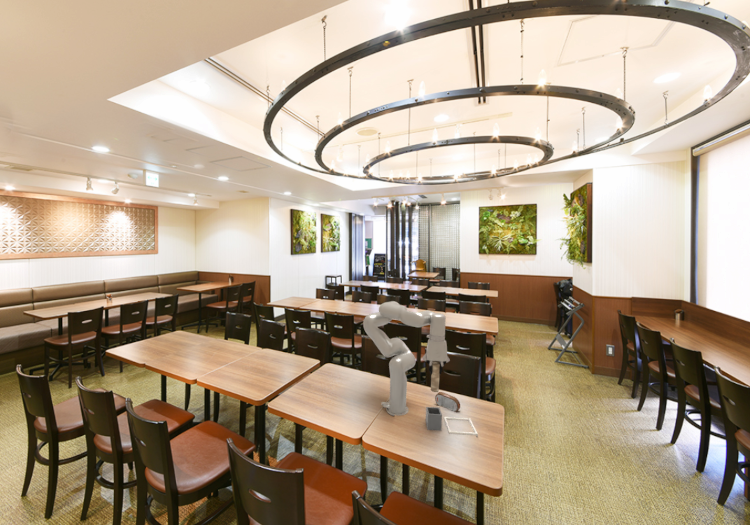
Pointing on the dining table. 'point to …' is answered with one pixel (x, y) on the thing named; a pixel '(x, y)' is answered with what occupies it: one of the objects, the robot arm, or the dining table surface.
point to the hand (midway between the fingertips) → (435, 372)
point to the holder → (433, 418)
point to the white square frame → (461, 432)
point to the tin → (447, 401)
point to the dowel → (435, 377)
